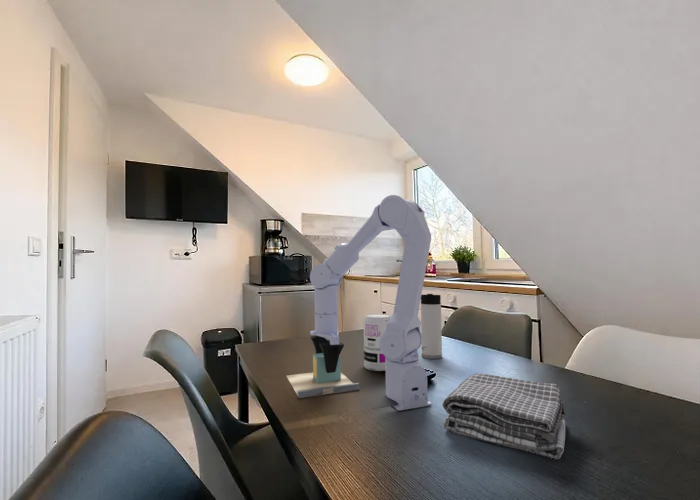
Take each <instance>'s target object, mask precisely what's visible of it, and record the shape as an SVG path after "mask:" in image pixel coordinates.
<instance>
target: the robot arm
mask: <svg viewBox="0 0 700 500" xmlns="http://www.w3.org/2000/svg"><path fill="white" fill-rule="evenodd" d="M425 217H426V216H425V211H424V209H423V208H422V207H421V206H420V205H419V204H418V203H417V202H415V201H413V200H408V199H406V198H403V197H402V196H400V195H396V194H390V195H387V196H386V197H384V198H383V199H382V200H381V201H380V204H377V206H375V207H374V209H373V211H372V214H371V215H370V217H369V218H368V219H367V220H366V221H365V223H364V224H363V225H362V227H360V229H359V230H358V231H357V232H356V233H355V235H354V236H353V237H351V239H350V241H349V242H348V243H344V242H343V243H340V244H336V246H334V251H332V253H331V254H330V255H329V256H328V257H327V258H324V260H323V262H322V263H321V264H316V265H314V266H313V267H312V269H311V270H310V273H309V279H310V284H311V285H312V287H314V330H311V331H309V333H310V334H309V335H311V336H310V340H311V342H312V344H313V346H314V350H315V354H317V353H323V355H324V361H325V368H326V372H327V373H333V372H335V371H336V368H337V363H338V358H339V355H341V352H342V351H343V348H344V347H345V343H344V342H340V336H339V334H340V333H339V328H338V327H339V325H338V324H339V322H338V321H339V320H338V318H339V317H338V316H339V315H338V312H339V311H338V308H339V307H338V302H339V301H338V293H339V287H340V285H341V284H342V282H343V281H342V280H343V276H344V275H346V273H348V271H349V270H350V269H351V268H353V266H354V265H355V264H356V263H357V262H359V257H360V256H359V253H360V252H361V251H362V250H364V249H365V247H366V246H368V245H369V244H370V243H371V242H373V240H374V239H375V238H376V237H377V236H379V235H380V234H381V233H382V232H384V231H385V232H386V231H391V230H395V231H396V232H397V233H398V234H399V236H400V237H401V238H402V239H403V241H404V248H403V254H402V260H401V267H400V272H399V278H398V284H397V291H396V295H395V302H394V307H393V313H392V314H391V318H390V319H389V321H388V323H387V327H386V330H385V332H384V334H383V335H382V336H381V339H380V349H381V351H382V353H383V354H384V356H385V371H384V372H385V396H386V397H387V398H388V399H390V400H393V401H395V402H396V404H395V403H394V404H391V407H393V408H394V409H395V410H396V411H399V412H400V411H405V410H410V409H411V410H412V409H417V408H423V407H428V406H431V405H432V402H431V401H430V400H428V399H429V397H428V376H427V371H426V370H425V368H424V367H422V366H421V363H420V358H419V353H418V350H419V348H421V347H422V346H421V344H422V335H421V319H420V318H419V311H420V307H421V295H423V288H424V283H425V275H426V271H427V266H428V260H429V253H430V247H431V241H432V233H431V230H430V227H429V226H428V222H427V220H426V218H425Z"/></svg>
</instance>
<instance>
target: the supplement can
mask: <svg viewBox="0 0 700 500" xmlns="http://www.w3.org/2000/svg"><path fill="white" fill-rule="evenodd" d="M391 316H392V314H387V313H369V314H366V315H365V318H364V320H363V367H364V368H365V369H367V370H369V371H374V372H375V371H377V372H383V371H384V372H386V371H385V356H384V354H383V353H382V351H381V349H380V339H381V336H382V335H383V334H384V332H385V330H386V327H387V323H388V321H389V319H390V318H391Z"/></svg>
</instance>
